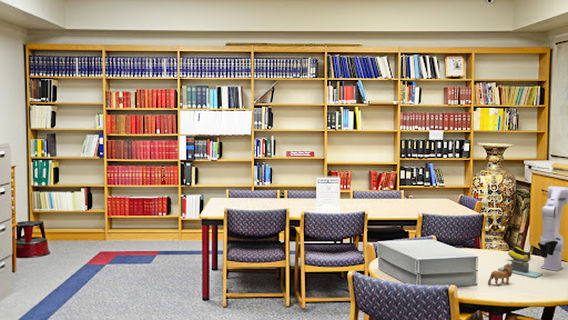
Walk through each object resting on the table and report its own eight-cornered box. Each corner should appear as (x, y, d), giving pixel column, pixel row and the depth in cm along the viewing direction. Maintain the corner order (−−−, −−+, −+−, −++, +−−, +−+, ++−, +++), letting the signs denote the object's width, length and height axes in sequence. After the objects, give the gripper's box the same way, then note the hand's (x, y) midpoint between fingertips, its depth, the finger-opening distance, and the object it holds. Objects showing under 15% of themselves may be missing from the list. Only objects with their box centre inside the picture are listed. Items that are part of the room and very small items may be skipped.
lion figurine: (505, 280, 263) (506, 262, 262) (514, 283, 258) (515, 265, 257) (484, 284, 255) (485, 266, 255) (494, 288, 251) (494, 269, 250)
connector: (509, 267, 283) (509, 259, 282) (529, 272, 275) (530, 263, 275) (506, 268, 280) (506, 260, 280) (526, 273, 273) (527, 264, 272)
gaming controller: (507, 261, 300) (526, 264, 294) (507, 251, 299) (526, 254, 293) (513, 255, 312) (532, 258, 306) (514, 246, 311) (532, 248, 306)
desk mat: (505, 267, 287) (506, 265, 287) (542, 274, 273) (542, 273, 273) (497, 270, 281) (498, 268, 281) (535, 278, 267) (535, 276, 267)
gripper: (546, 226, 280) (545, 252, 281) (534, 230, 270) (533, 257, 271) (560, 228, 274) (559, 255, 275) (549, 232, 265) (547, 259, 266)
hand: (547, 256), depth 273 cm, fingers open, 7 cm apart
